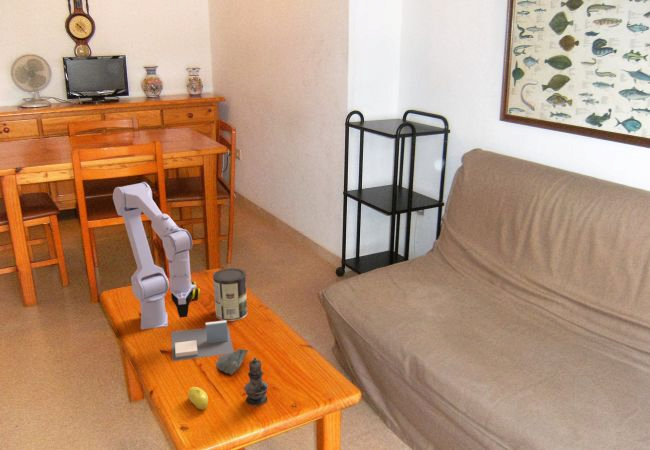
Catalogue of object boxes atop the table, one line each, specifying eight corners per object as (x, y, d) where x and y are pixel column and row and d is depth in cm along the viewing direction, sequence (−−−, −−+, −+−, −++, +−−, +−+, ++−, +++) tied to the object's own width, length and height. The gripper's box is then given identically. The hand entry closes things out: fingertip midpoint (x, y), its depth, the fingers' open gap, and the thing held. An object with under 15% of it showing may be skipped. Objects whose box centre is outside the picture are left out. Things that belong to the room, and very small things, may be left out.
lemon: (195, 415, 144) (194, 401, 142) (186, 397, 150) (185, 384, 149) (212, 409, 145) (211, 396, 144) (202, 392, 152) (201, 379, 151)
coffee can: (238, 304, 200) (236, 265, 195) (253, 316, 191) (251, 276, 187) (210, 312, 194) (207, 272, 190) (223, 325, 186) (221, 283, 181)
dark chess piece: (245, 393, 152) (243, 351, 148) (268, 392, 152) (267, 350, 148) (244, 407, 146) (242, 364, 142) (268, 406, 147) (266, 363, 143)
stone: (213, 384, 158) (249, 373, 157) (208, 371, 157) (244, 360, 156) (218, 365, 168) (252, 355, 168) (214, 353, 167) (247, 343, 167)
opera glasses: (200, 302, 203) (202, 288, 202) (184, 302, 201) (186, 288, 200) (193, 291, 212) (194, 278, 210) (178, 291, 209) (180, 278, 208)
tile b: (206, 341, 176) (205, 322, 174) (227, 338, 177) (226, 320, 175) (207, 343, 174) (205, 325, 173) (227, 341, 176) (226, 322, 174)
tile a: (174, 342, 172) (175, 353, 166) (196, 340, 173) (197, 350, 168) (175, 347, 172) (175, 358, 167) (196, 345, 174) (197, 355, 168)
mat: (171, 333, 181) (171, 332, 181) (227, 326, 185) (227, 325, 185) (172, 362, 166) (172, 361, 165) (234, 354, 170) (234, 353, 170)
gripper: (195, 281, 162) (198, 326, 167) (193, 261, 176) (196, 303, 180) (169, 284, 161) (172, 329, 165) (168, 264, 174) (172, 306, 178)
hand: (183, 316), depth 172 cm, fingers closed
